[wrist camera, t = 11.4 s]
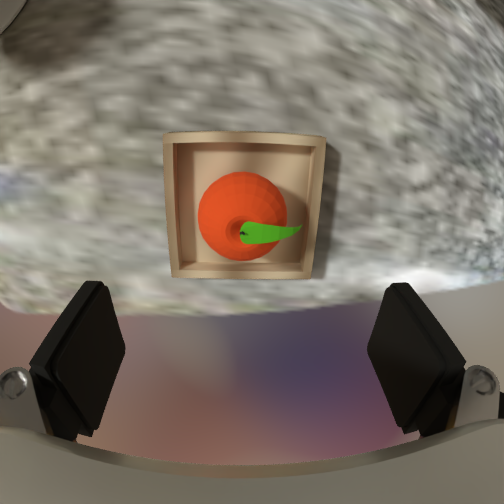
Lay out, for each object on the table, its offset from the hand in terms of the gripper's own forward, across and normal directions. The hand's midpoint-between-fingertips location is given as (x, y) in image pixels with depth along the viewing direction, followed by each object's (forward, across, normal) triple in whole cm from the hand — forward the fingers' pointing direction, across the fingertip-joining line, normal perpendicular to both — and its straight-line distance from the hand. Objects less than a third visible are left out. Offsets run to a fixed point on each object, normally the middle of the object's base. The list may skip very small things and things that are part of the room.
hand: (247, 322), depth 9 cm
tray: (+18, 0, +2) cm, 19 cm away
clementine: (+18, 0, +2) cm, 18 cm away
